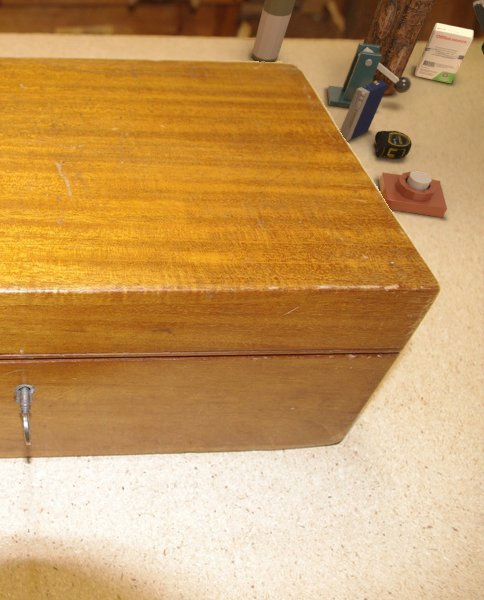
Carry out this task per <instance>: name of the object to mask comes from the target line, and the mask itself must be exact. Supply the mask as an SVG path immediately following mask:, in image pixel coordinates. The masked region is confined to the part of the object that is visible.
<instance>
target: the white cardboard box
mask: <svg viewBox="0 0 484 600" xmlns="http://www.w3.org/2000/svg"><path fill="white" fill-rule="evenodd" d="M474 33H475V32H474V30H473V29H469V28H465V27H460V26H455V25H450V24H446V23H439V22H436V23H435V24H434V26H433V29H432V31H431V33H430V36H429V38H428V40H427V42H426V44H425V46H424V49H423V52H422V53H421V56H420V58H419V60H418V62H417V65H416V66H415V70H414V76H415V77H418V78H422V79H423V78H424V79H428V80H433V81H438V82H442V83H446V84H452V82H453V80H454V79H455V76H456V74H457V72H458V70H459V68H460V66H461V64H462V62H463V61H464V59H465V56H466V54H467V52H468V50H469V49H470V46H471V44H472V42H473V40H474Z"/></svg>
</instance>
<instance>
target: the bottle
mask: <svg viewBox="0 0 484 600" xmlns="http://www.w3.org/2000/svg"><path fill="white" fill-rule="evenodd" d="M296 2H297V0H264V2H263V7H262V11H261V15H260V19H259V23H258V27H257V31H256V35H255V40H254V43H253V48H252V58H253V59H254V60H255V61H258V62H260V61H265V62H270V63H274V62H275V61H277V59H278V57H279V55H280V51H281V48H282V45H283V41H284V38H285V35H286V33H287V29H288V26H289V24H290V19H291V17H292V13H293V10H294V7H295V4H296ZM265 62H264V63H265Z"/></svg>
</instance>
